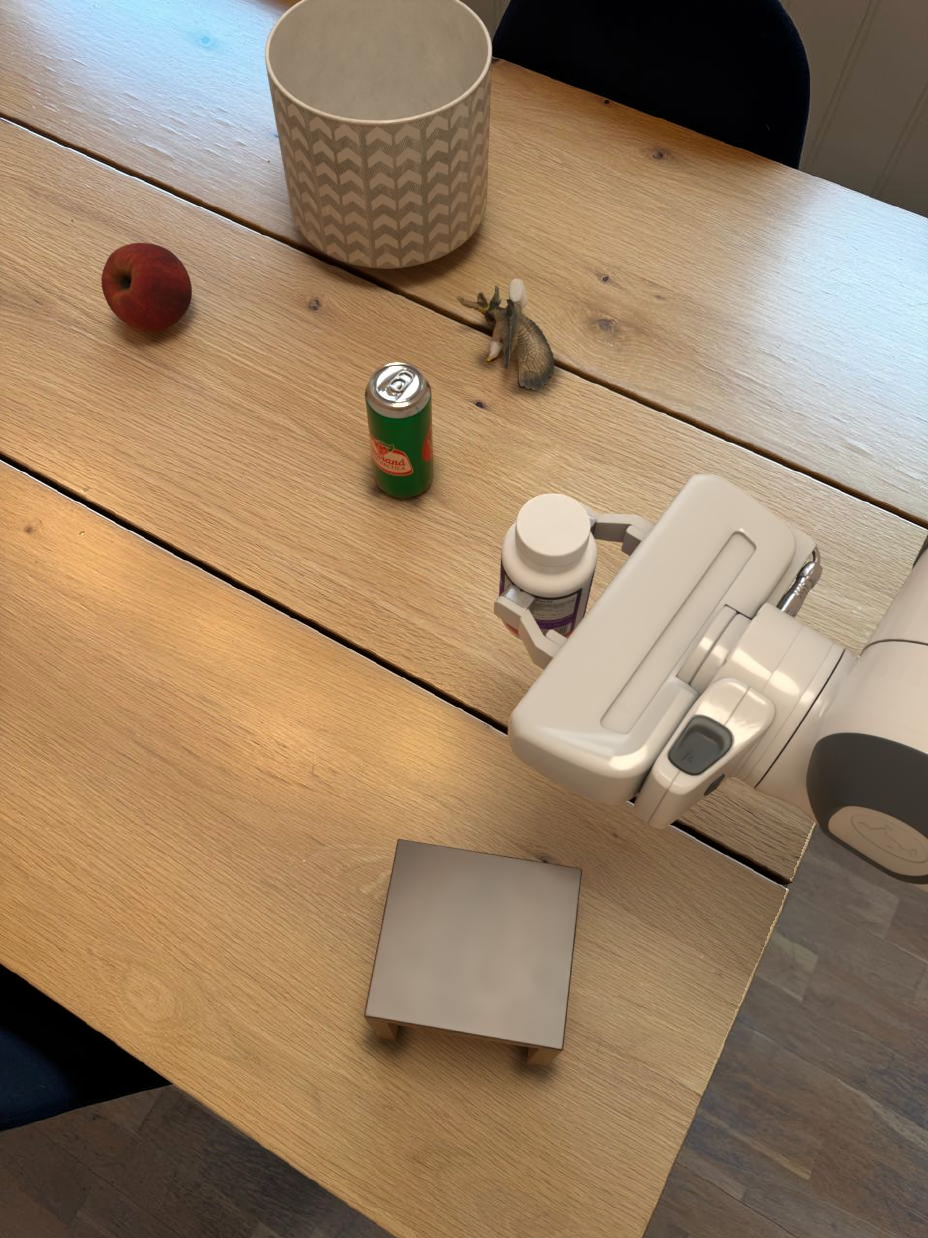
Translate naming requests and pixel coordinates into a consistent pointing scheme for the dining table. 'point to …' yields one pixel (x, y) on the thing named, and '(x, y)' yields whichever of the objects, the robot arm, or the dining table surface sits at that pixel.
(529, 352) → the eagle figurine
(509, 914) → the small side table
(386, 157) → the planter
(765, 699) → the robot arm
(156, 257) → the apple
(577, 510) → the pill bottle
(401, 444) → the soda can
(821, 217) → the dining table surface
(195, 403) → the dining table surface
